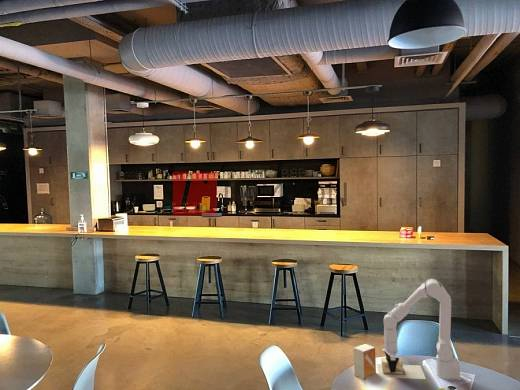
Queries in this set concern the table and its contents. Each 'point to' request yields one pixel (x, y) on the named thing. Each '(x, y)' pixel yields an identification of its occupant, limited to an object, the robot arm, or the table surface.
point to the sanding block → (386, 366)
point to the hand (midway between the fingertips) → (392, 369)
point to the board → (404, 372)
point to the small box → (364, 361)
